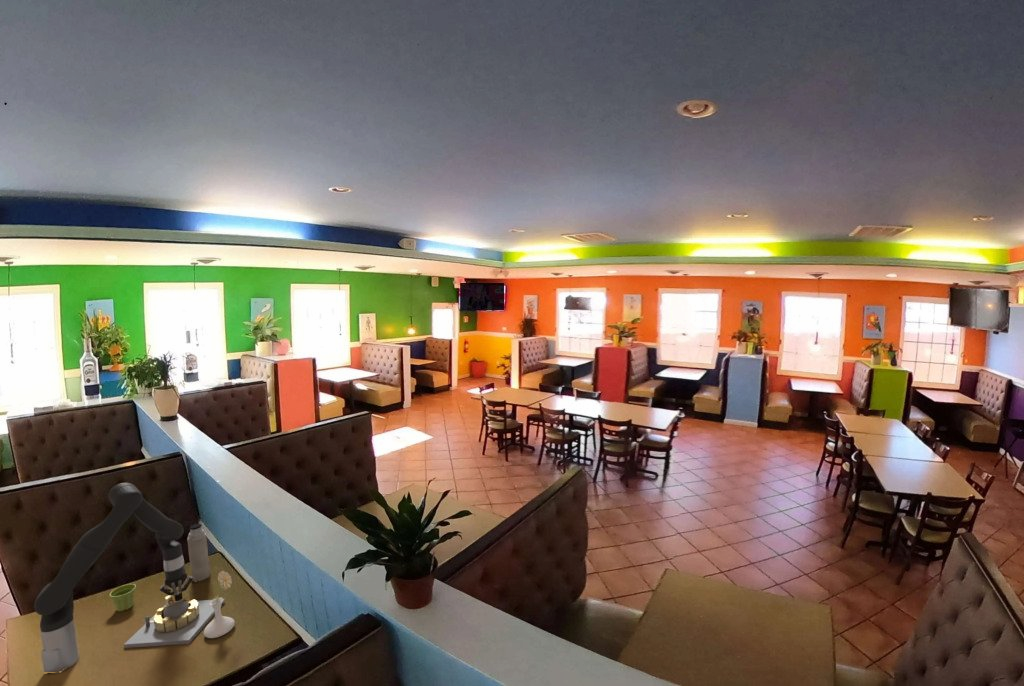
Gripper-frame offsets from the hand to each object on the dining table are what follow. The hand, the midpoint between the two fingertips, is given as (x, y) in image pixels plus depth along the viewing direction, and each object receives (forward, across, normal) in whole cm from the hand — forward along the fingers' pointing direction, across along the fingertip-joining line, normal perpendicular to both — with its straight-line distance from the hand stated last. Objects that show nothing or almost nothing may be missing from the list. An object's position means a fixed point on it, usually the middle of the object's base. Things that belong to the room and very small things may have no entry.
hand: (179, 600), depth 213 cm
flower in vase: (+4, -14, +30) cm, 33 cm away
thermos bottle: (+4, -9, -23) cm, 25 cm away
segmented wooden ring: (+1, +2, +9) cm, 10 cm away
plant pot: (+4, +21, -18) cm, 27 cm away
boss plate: (+4, +1, +12) cm, 13 cm away
